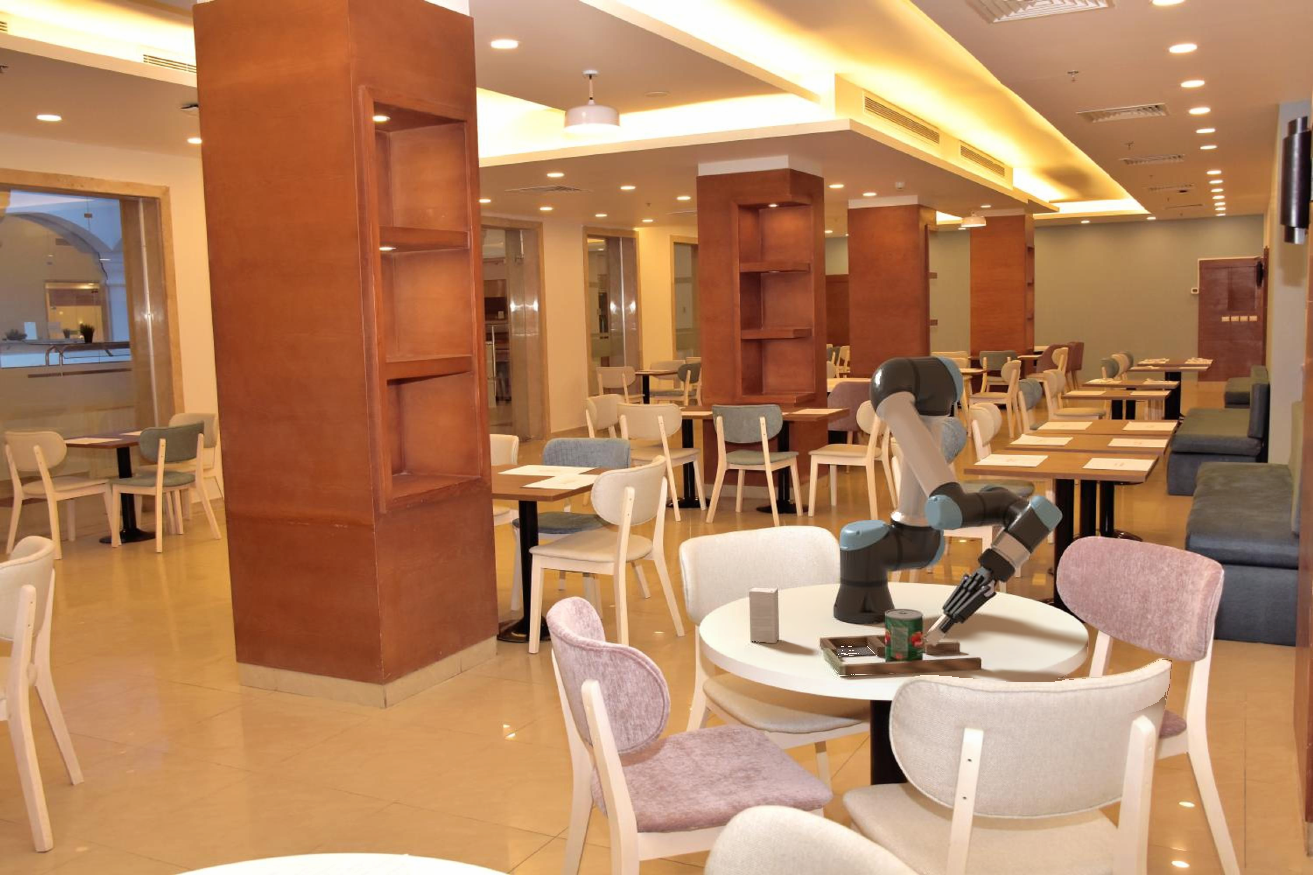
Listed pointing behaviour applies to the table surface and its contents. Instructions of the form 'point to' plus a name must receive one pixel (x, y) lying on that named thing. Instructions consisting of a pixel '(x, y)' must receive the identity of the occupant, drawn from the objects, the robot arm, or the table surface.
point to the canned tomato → (903, 635)
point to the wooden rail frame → (877, 645)
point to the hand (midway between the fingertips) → (929, 641)
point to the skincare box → (764, 615)
